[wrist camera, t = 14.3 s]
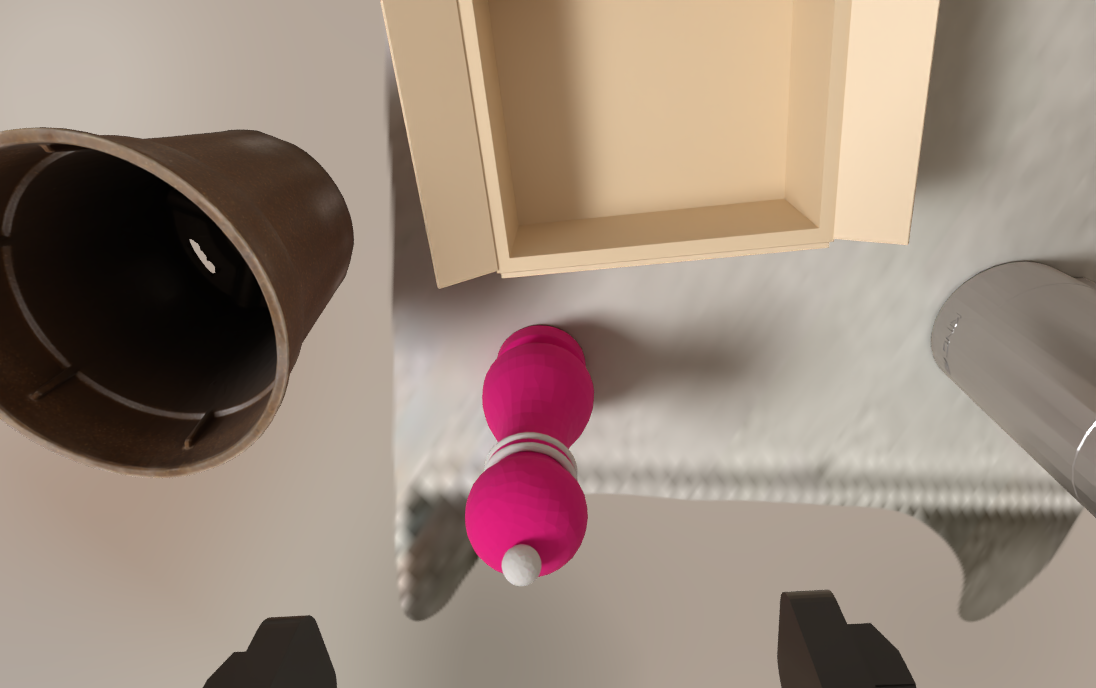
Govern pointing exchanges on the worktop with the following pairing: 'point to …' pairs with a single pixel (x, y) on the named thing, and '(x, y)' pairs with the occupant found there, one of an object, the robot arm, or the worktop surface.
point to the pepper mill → (532, 456)
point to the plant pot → (158, 291)
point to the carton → (658, 127)
